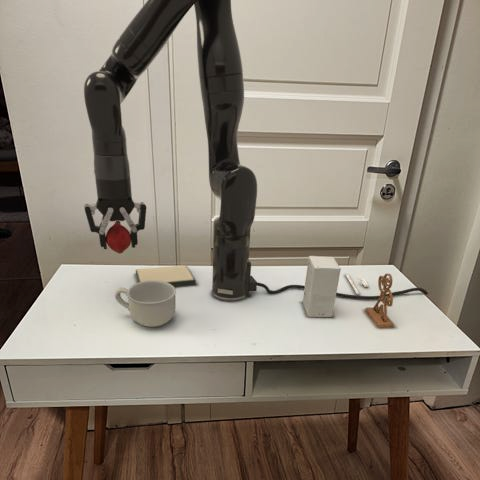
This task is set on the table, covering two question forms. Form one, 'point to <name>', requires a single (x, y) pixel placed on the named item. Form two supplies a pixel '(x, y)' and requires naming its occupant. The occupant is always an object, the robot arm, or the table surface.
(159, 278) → the notebook
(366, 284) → the picture light
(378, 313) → the brown openwork figurine
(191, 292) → the table surface
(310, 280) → the small box
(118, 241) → the pomegranate
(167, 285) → the teacup
